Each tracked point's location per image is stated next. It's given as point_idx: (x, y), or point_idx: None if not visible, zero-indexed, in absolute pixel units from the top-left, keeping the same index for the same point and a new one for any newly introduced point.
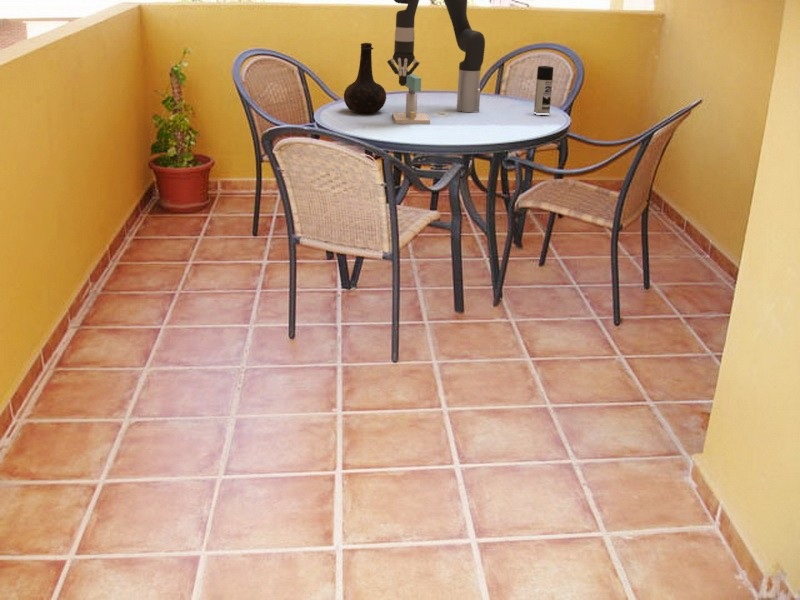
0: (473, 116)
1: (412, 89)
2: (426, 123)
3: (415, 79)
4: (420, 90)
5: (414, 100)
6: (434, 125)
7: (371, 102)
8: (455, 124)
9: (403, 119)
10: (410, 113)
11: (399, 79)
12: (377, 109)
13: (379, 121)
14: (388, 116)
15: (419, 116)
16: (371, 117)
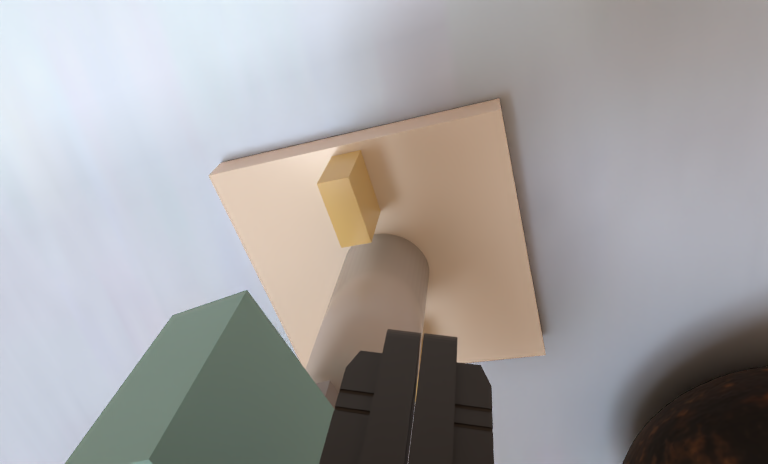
0: (79, 412)
1: (293, 367)
2: (246, 158)
3: (147, 444)
4: (169, 324)
5: (325, 334)
6: (176, 124)
7: (761, 410)
8: (62, 198)
9: (429, 149)
10: (372, 227)
11: (479, 441)
12: (668, 405)
13: (651, 157)
14: (570, 338)
15: (325, 285)
16: (714, 286)
